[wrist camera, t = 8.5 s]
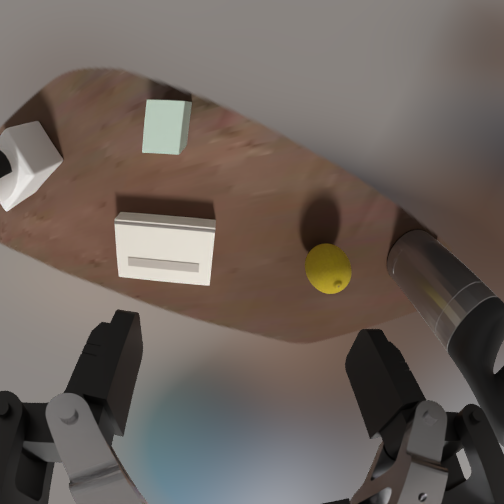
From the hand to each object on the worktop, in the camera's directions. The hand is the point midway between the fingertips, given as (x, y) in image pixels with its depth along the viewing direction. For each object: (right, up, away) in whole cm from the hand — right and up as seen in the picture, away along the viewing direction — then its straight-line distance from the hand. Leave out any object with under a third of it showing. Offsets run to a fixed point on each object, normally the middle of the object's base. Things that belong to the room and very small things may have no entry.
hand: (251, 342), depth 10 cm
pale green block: (-9, +17, +19) cm, 27 cm away
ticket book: (-11, +4, +26) cm, 28 cm away
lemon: (+9, +3, +29) cm, 30 cm away
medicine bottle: (-28, +16, +18) cm, 37 cm away
